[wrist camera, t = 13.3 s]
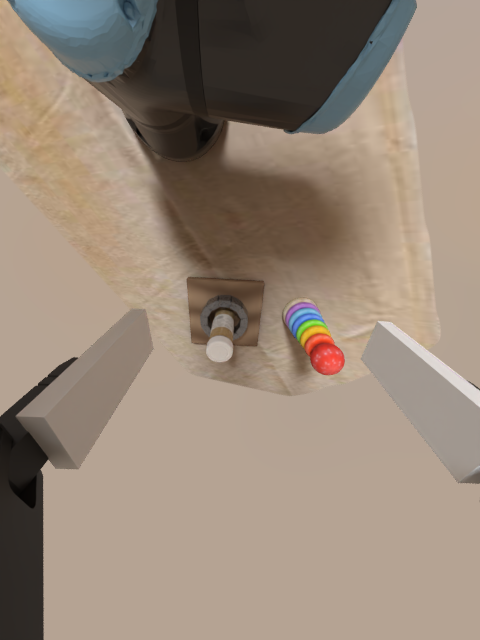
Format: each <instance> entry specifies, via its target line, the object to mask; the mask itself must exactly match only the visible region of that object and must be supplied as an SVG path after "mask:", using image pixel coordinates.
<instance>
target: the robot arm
mask: <svg viewBox="0 0 480 640" xmlns="http://www.w3.org/2000/svg"><path fill="white" fill-rule="evenodd" d="M7 1H8V2H9V3H10V5H11V6H12V8H13V10H14V11H15V12H16V13H17V14H18V16H19V17H20V18H21V19H22V21H23V22H24V23H25V24H26V26H27V27H28V28H29V29H30V30H31V31H32V32H33V33H34V34H35V35H36V36H37V37H38V38H39V39H40V40H41V41H42V42H43V43H44V44H45V45H46V46H47V47H48V48H49V49H50V50H51V51H52V52H53V54H54V55H55V56H56V57H57V58H58V59H59V60H60V62H61V63H62V64H63V65H65V66H66V67H67V68H69V69H70V70H71V71H72V72H73V73H74V72H75V73H76V74H77V75H78V76H79V77H82V78H84V79H85V80H86V81H87V82H89V83H90V84H91V85H92V86H94V87H95V88H96V89H97V90H99V91H100V92H101V93H102V94H104V95H105V96H106V97H107V98H108V99H110V100H111V101H112V102H113V103H115V104H116V105H117V106H118V107H120V108H121V109H122V111H123V113H124V115H125V118H126V119H127V121H128V123H129V125H130V126H131V128H132V129H133V131H134V132H135V133H136V135H137V136H138V137H139V138H140V139H141V140H142V142H143V143H144V144H146V145H147V146H148V147H149V148H150V149H152V150H153V151H155V152H156V153H158V154H159V155H161V156H163V157H165V158H167V159H170V160H173V161H180V162H184V161H191V160H194V159H197V158H199V157H200V156H202V155H204V154H205V153H206V152H207V151H208V150H209V149H210V148H211V147H212V146H213V145H214V143H215V142H216V140H217V138H218V136H219V134H220V132H221V130H222V127H223V124H224V120H227V121H233V122H240V123H246V124H252V125H258V126H265V127H271V128H277V129H283V130H284V132H286V133H288V134H294V133H299V132H303V133H313V134H324V133H326V132H328V131H332V130H333V129H335V128H337V127H339V126H340V125H341V124H342V123H343V122H345V121H346V120H347V119H348V118H349V117H350V116H351V115H352V114H353V112H354V111H355V110H356V109H357V108H358V107H359V105H360V104H361V103H362V101H363V100H364V99H365V97H366V96H367V94H368V93H369V92H370V90H371V89H372V87H373V86H374V84H375V83H376V81H377V80H378V78H379V77H380V75H381V74H382V72H383V70H384V69H385V67H386V65H387V64H388V62H389V60H390V59H391V57H392V55H393V53H394V52H395V50H396V48H397V46H398V44H399V43H400V41H401V39H402V37H403V35H404V33H405V31H406V29H407V27H408V25H409V23H410V21H411V19H412V17H413V15H414V13H415V10H416V8H417V4H416V0H7ZM152 350H153V344H152V339H151V334H150V328H149V323H148V318H147V313H146V309H133V308H132V309H131V310H130V311H129V312H128V313H127V314H125V315H124V316H123V317H122V318H121V319H120V320H119V321H118V322H117V323H116V324H115V325H114V326H113V327H111V328H110V329H109V330H108V331H107V332H106V333H105V334H104V335H103V336H102V337H101V338H99V339H98V340H97V341H96V342H95V343H94V344H93V345H92V346H91V347H90V348H89V349H88V350H87V351H85V352H84V353H83V354H82V355H81V356H80V357H79V358H75V357H74V358H72V359H70V360H68V361H66V362H64V363H63V364H61V365H59V366H58V367H57V368H56V369H55V370H53V371H52V372H51V373H50V374H49V375H48V377H45V378H44V379H43V380H42V381H41V382H39V383H38V386H35V387H34V388H33V389H31V390H30V391H29V392H28V393H27V394H26V395H24V396H23V397H22V398H21V399H20V400H19V401H18V402H16V403H15V404H14V405H13V406H12V407H11V408H9V409H8V410H7V411H6V412H5V413H4V414H3V415H1V417H0V640H43V475H42V472H41V470H40V469H41V468H42V467H43V465H44V464H45V463H46V461H47V460H48V459H49V461H50V462H51V463H52V465H53V466H54V467H55V468H57V469H79V468H80V466H81V464H82V463H83V461H84V459H85V458H86V456H87V454H88V453H89V452H90V450H91V448H92V447H93V445H94V444H95V442H96V440H97V439H98V437H99V435H100V434H101V432H102V431H103V429H104V427H105V426H106V424H107V423H108V421H109V419H110V418H111V416H112V415H113V413H114V411H115V410H116V408H117V406H118V405H119V403H120V402H121V400H122V398H123V397H124V395H125V394H126V392H127V390H128V389H129V387H130V386H131V384H132V382H133V381H134V379H135V377H136V376H137V374H138V373H139V371H140V370H141V368H142V366H143V365H144V363H145V362H146V360H147V358H148V357H149V355H150V354H151V352H152ZM361 360H362V361H363V362H364V364H365V365H366V366H367V367H368V369H369V370H370V371H371V373H372V374H373V375H374V376H375V378H376V379H377V380H378V382H379V383H380V384H381V385H382V387H383V388H384V389H385V390H386V392H387V393H388V394H389V396H390V397H391V398H392V399H393V401H394V402H395V403H396V404H397V406H398V407H399V408H400V410H401V411H402V412H403V413H404V415H405V416H406V417H407V419H408V420H409V421H410V422H411V424H412V425H413V426H414V427H415V429H416V430H417V431H418V433H419V434H420V435H421V436H422V438H423V439H424V440H425V441H426V443H427V444H428V445H429V446H430V447H431V449H432V450H433V452H434V453H435V454H436V455H437V457H438V458H439V459H440V461H441V462H442V463H443V464H444V466H445V467H446V468H447V469H448V471H449V472H450V473H451V475H452V476H453V477H454V478H455V480H456V481H457V482H458V483H477V484H479V483H480V389H479V388H478V387H476V386H475V385H474V384H472V383H471V382H469V381H467V380H465V379H464V378H463V377H461V376H460V375H459V374H457V373H456V372H455V371H454V370H452V369H451V368H450V367H448V366H447V365H446V364H444V363H443V362H442V361H441V360H439V359H438V358H437V357H435V356H434V355H433V354H431V353H430V352H429V351H428V350H426V349H425V348H424V347H422V346H421V345H420V344H419V343H417V342H416V341H415V340H413V339H412V338H411V337H409V336H408V335H407V334H406V333H404V332H403V331H402V330H400V329H399V328H398V327H396V326H395V325H394V324H393V323H391V322H383V321H377V323H376V325H375V328H374V330H373V332H372V334H371V337H370V339H369V341H368V343H367V346H366V348H365V350H364V352H363V355H362V357H361Z"/></svg>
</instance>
